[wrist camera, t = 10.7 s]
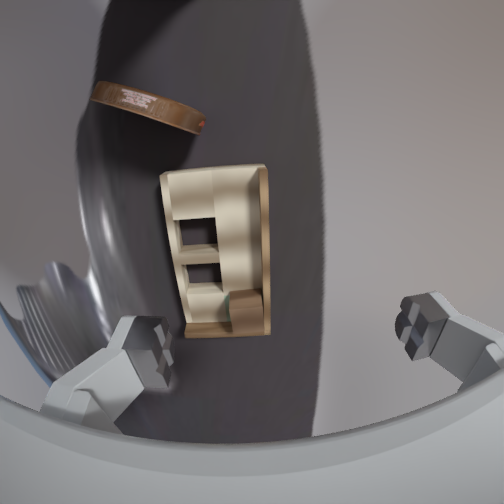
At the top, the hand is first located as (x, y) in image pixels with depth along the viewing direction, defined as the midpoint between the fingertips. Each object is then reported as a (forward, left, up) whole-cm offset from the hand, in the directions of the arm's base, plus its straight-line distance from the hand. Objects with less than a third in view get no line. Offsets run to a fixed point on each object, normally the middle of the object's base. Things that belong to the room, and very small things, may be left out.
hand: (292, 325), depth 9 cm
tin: (-10, -12, -29) cm, 33 cm away
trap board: (+11, -5, -29) cm, 31 cm away
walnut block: (+18, -2, -26) cm, 32 cm away
